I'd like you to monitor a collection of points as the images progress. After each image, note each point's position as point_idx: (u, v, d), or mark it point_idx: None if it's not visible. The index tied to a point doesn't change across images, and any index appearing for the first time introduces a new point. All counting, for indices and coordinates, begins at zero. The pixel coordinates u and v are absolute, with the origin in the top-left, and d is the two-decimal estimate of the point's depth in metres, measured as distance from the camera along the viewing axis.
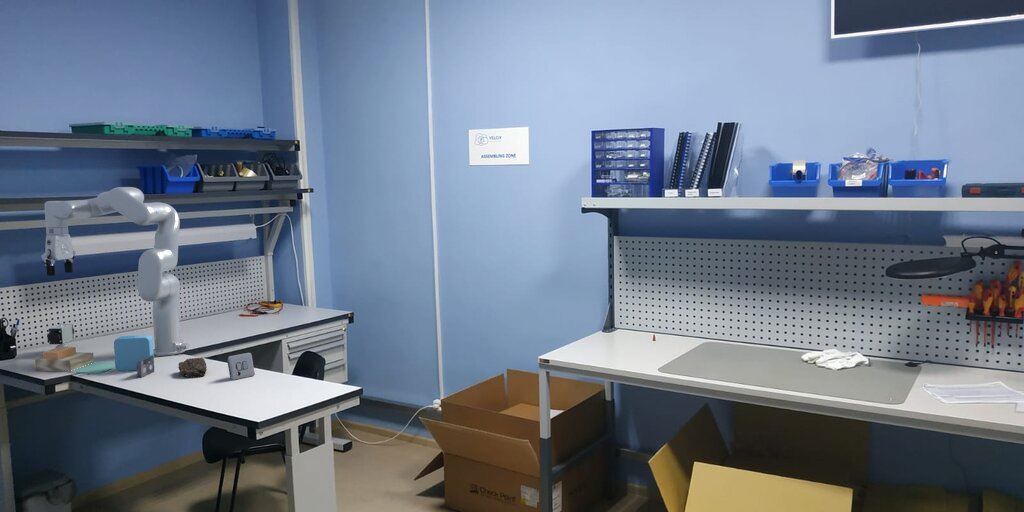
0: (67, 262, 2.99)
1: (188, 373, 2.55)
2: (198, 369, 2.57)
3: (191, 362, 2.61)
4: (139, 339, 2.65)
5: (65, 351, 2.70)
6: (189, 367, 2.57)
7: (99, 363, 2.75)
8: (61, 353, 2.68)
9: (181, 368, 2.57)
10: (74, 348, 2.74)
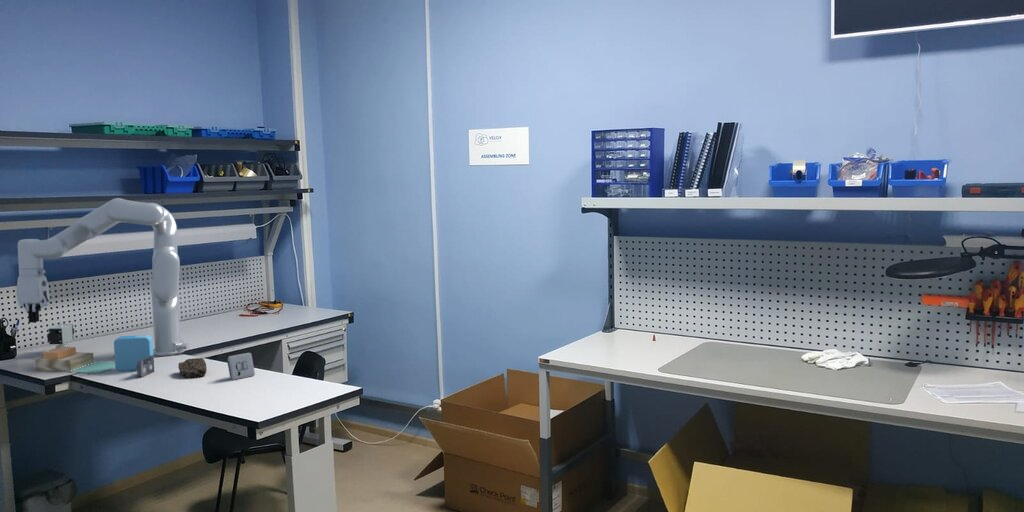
0: None
1: (188, 373, 2.54)
2: (198, 369, 2.56)
3: (191, 362, 2.60)
4: (139, 339, 2.65)
5: (65, 351, 2.70)
6: (189, 367, 2.57)
7: (99, 363, 2.75)
8: (61, 353, 2.68)
9: (181, 368, 2.56)
10: (74, 348, 2.74)
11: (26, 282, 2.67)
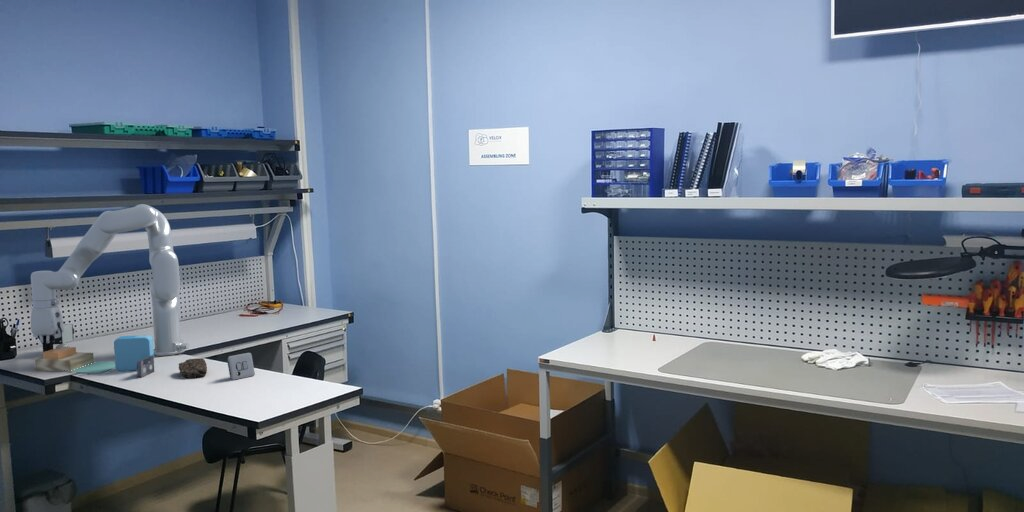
0: None
1: (189, 374, 2.54)
2: (199, 369, 2.56)
3: (191, 362, 2.60)
4: (139, 339, 2.65)
5: (65, 351, 2.70)
6: (189, 367, 2.56)
7: (99, 363, 2.75)
8: (61, 353, 2.68)
9: (181, 369, 2.56)
10: (74, 348, 2.74)
11: (39, 314, 2.68)
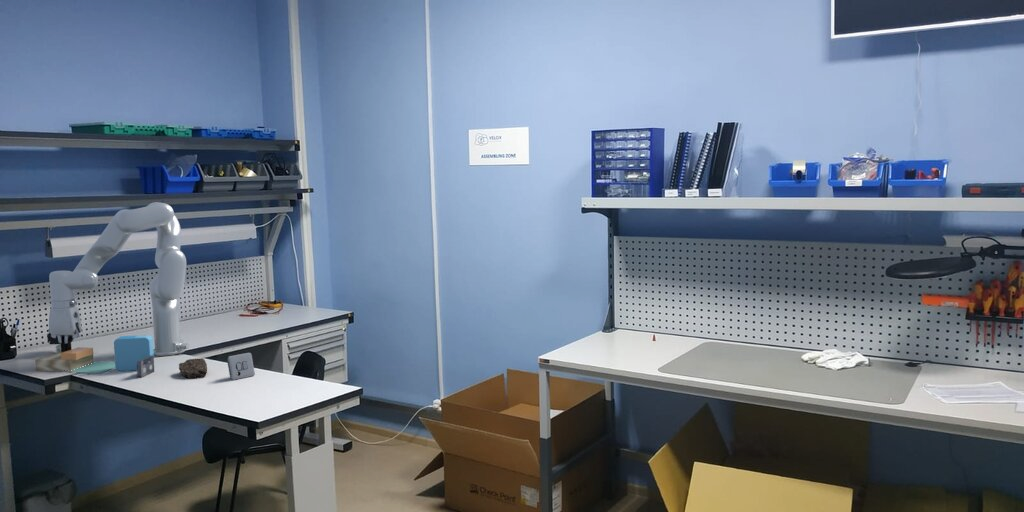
0: None
1: (189, 374, 2.54)
2: (199, 370, 2.56)
3: (192, 363, 2.60)
4: (139, 339, 2.65)
5: (83, 352, 2.68)
6: (190, 368, 2.56)
7: (99, 363, 2.75)
8: (79, 354, 2.67)
9: (182, 369, 2.56)
10: (92, 349, 2.73)
11: (58, 314, 2.67)
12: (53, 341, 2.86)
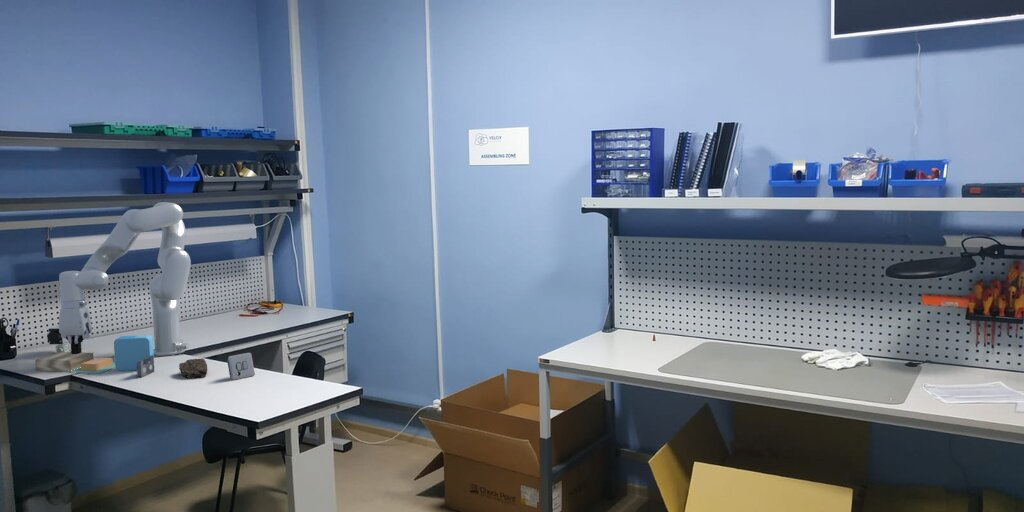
0: None
1: (189, 374, 2.54)
2: (199, 370, 2.56)
3: (192, 363, 2.60)
4: (139, 339, 2.65)
5: None
6: (190, 368, 2.56)
7: None
8: None
9: (182, 369, 2.55)
10: None
11: (68, 315, 2.66)
12: (53, 341, 2.86)
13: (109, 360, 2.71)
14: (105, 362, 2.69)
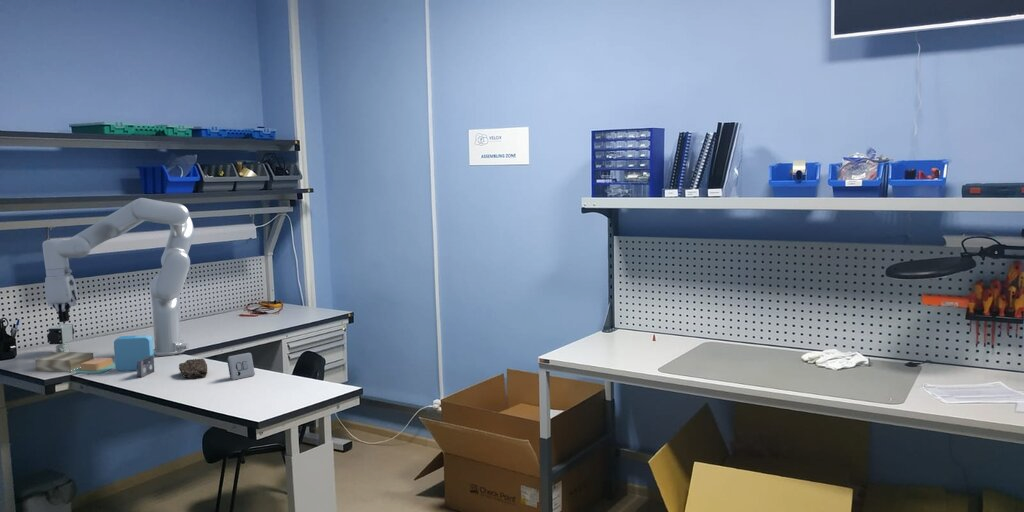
0: None
1: (189, 374, 2.53)
2: (199, 370, 2.55)
3: (192, 363, 2.59)
4: (139, 339, 2.65)
5: None
6: (190, 368, 2.56)
7: None
8: None
9: (182, 369, 2.55)
10: None
11: (53, 283, 2.68)
12: (53, 341, 2.86)
13: (109, 360, 2.71)
14: (105, 362, 2.69)
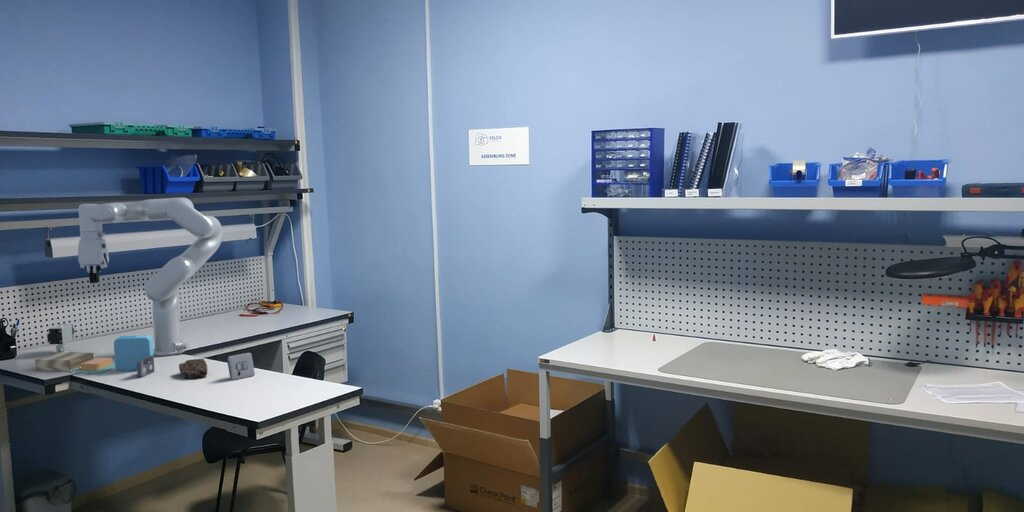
0: None
1: (189, 374, 2.53)
2: (199, 370, 2.55)
3: (192, 363, 2.59)
4: (139, 339, 2.65)
5: None
6: (190, 368, 2.55)
7: None
8: None
9: (182, 369, 2.55)
10: None
11: (87, 245, 2.81)
12: (53, 341, 2.86)
13: (109, 360, 2.71)
14: (105, 362, 2.69)
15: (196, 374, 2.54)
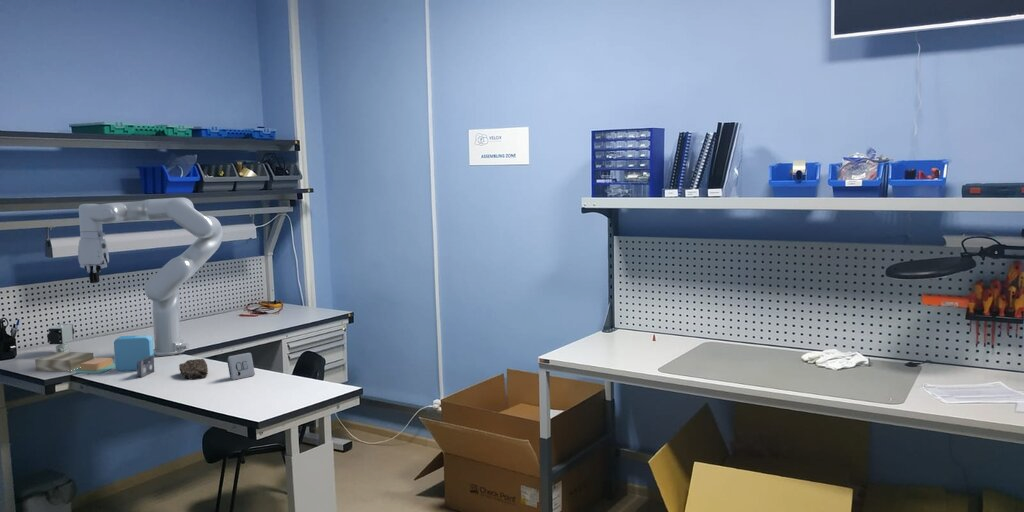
0: None
1: (189, 374, 2.53)
2: (199, 370, 2.55)
3: (192, 363, 2.59)
4: (139, 339, 2.65)
5: None
6: (190, 368, 2.55)
7: None
8: None
9: (182, 369, 2.55)
10: None
11: (87, 245, 2.81)
12: (53, 341, 2.86)
13: (109, 360, 2.71)
14: (105, 362, 2.69)
15: (196, 374, 2.53)
